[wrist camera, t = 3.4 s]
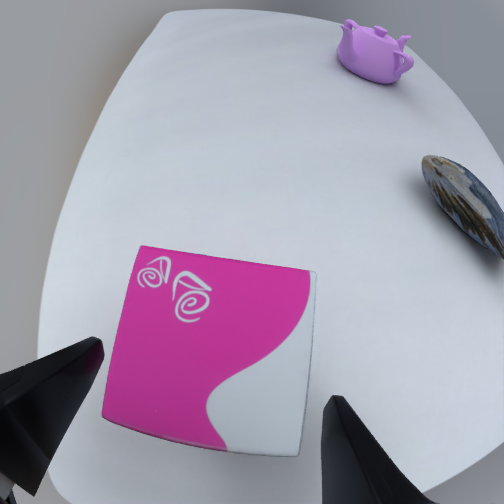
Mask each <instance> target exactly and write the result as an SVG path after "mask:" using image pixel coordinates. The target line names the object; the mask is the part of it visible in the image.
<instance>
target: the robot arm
mask: <svg viewBox="0 0 504 504" xmlns="http://www.w3.org/2000/svg"><path fill="white" fill-rule="evenodd" d="M103 360H104V349H103V343H102V340H101V339H99V338H96V337H93V336H92V337H89V338H87V339H85V340H82V341H80V342H78V343H75V344H73V345H71V346H68V347H66V348H64V349H61V350H59V351H57V352H54V353H52V354H50V355H47V356H45V357H43V358H40V359H38V360H36V361H33V362H32V363H28V364H26V365H25V366H21V367H19V368H16V369H14V370H11V371H9V372H6V373H3V374H0V504H17V503H16V500H15V497H14V494H13V491H12V488H13V486H14V484H15V483H16V484H17V485H18V486H20V487H21V488H22V489H24V490H25V491H26V492H28V493H29V494H31V495H32V496H35V494H36V492H37V490H38V488H39V485H40V483H41V481H42V479H43V477H44V475H45V473H46V470H47V468H48V466H49V464H50V462H51V460H52V458H53V456H54V454H55V452H56V450H57V448H58V446H59V444H60V442H61V440H62V439H63V437H64V435H65V433H66V431H67V429H68V427H69V425H70V424H71V422H72V420H73V418H74V416H75V415H76V413H77V411H78V409H79V408H80V406H81V404H82V402H83V401H84V399H85V397H86V395H87V394H88V392H89V390H90V388H91V386H92V384H93V382H94V380H95V377H96V375H97V373H98V371H99V369H100V366H101V364H102V362H103ZM321 465H322V504H439V503H435V502H433V501H431V500H429V499H428V498H427V497H425V496H424V495H423V494H422V493H421V492H420V491H419V490H418V489H417V488H416V487H415V486H414V485H413V484H412V483H411V482H410V481H409V480H408V479H407V478H406V477H405V475H404V474H403V473H402V472H401V471H400V470H399V469H398V467H397V466H396V465H395V464H394V462H393V461H392V460H391V459H390V458H389V456H388V455H387V453H386V452H385V451H384V450H383V448H382V447H381V446H380V444H379V443H378V442H377V440H376V439H375V438H374V436H373V435H372V434H371V433H370V431H369V430H368V429H367V427H366V426H365V425H364V423H363V422H362V421H361V419H360V418H359V417H358V415H357V414H356V413H355V411H354V410H353V409H352V407H351V406H350V405H349V403H348V402H347V401H346V399H345V398H344V397H343V396H339V395H333V396H331V398H330V399H329V401H328V403H327V404H326V406H325V407H324V410H323V421H322V436H321Z"/></svg>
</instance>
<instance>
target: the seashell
mask: <svg viewBox="0 0 504 504" xmlns="http://www.w3.org/2000/svg"><path fill="white" fill-rule="evenodd" d="M422 173H423V176H424V179H425V181H426V183H427V185H428V187H429V189H430V191H431V192H432V194H433V196H434V197H435V199H436V200H437V202H438V203H439V205H440V206H441V207H442V208H443V209H444V211H445V212H446V213H447V214H448V215H449V216H450V217H451V218H452V219H453V220H454V221H455V222H456V223H457V224H458V226H459V227H460V228H461V229H462V230H463V231H464V232H466V233H467V234H469V235H470V236H471V237H472V238H474V239H475V240H476V241H477V242H478V243H480V244H481V245H482V246H484V247H485V248H487V249H490V250H491V251H492V252H494V253H495V254H496V255H498V256H499V257H501V258H503V259H504V212H503V211H502V209H501V208H500V206H499V204H498V203H497V201H496V200H495V198H494V197H493V195H492V194H491V192H490V191H489V190H488V189H487V188H486V187H485V185H484V184H483V183H482V182H481V181H480V180H479V179H478V178H477V177H476V176H475V175H473V174H472V173H471V172H470V171H469V170H468V169H466V168H465V167H463V166H461V165H460V164H458V163H456V162H453V161H451V160H449V159H446V158H444V157H438V156H431V155H427V156H424V157H423V159H422Z"/></svg>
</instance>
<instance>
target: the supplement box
mask: <svg viewBox="0 0 504 504" xmlns="http://www.w3.org/2000/svg"><path fill="white" fill-rule="evenodd" d="M316 281H317V273H316V272H314V271H309V270H301V269H296V268H289V267H282V266H274V265H267V264H260V263H254V262H247V261H240V260H233V259H226V258H220V257H213V256H207V255H201V254H194V253H187V252H180V251H174V250H167V249H161V248H155V247H149V246H140V248H139V251H138V254H137V257H136V260H135V263H134V266H133V270H132V273H131V277H130V280H129V284H128V288H127V292H126V297H125V301H124V305H123V309H122V314H121V318H120V322H119V326H118V330H117V334H116V338H115V343H114V347H113V352H112V357H111V362H110V367H109V372H108V377H107V383H106V389H105V395H104V401H103V408H102V417H103V418H104V419H106V420H108V421H110V422H112V423H115V424H117V425H120V426H123V427H125V428H128V429H131V430H134V431H137V432H140V433H143V434H146V435H150V436H154V437H157V438H161V439H164V440H167V441H171V442H176V443H180V444H185V445H189V446H194V447H200V448H205V449H211V450H216V451H224V452H231V453H238V454H248V455H263V456H274V457H297V456H298V455H299V452H300V448H301V441H302V436H303V428H304V421H305V413H306V405H307V397H308V388H309V378H310V367H311V357H312V344H313V329H314V313H315V299H316Z"/></svg>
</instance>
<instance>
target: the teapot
mask: <svg viewBox="0 0 504 504" xmlns="http://www.w3.org/2000/svg"><path fill="white" fill-rule="evenodd" d="M352 26H353V27H354V28H355V30H353V31H352ZM340 27H341V28H342V29H343V37H342V40H341V42H340V44H339V46H338V48H337V55H338V57H339V59H340V61H341V63H342V64H343V65H344V66H345V67H346V68H347V69H348V70H350V71H351V72H353V73H355V74H357V75H358V76H360V77H363V78H365V79H367V80H370V81H373V82H377V83H382V84H388V83H392V82H395V81H397V80H399V79H400V77H401V74H403V73H405V72H406V71H408V70H409V69H411V68H412V66H413V65H414V60H413V58H412V57H411V56H409V55H407V54H405V53H403V49H404V45H405V43H406V41H407V40H408V39H409V38H411V36H410V35H403V36H401V37H400V38H399V39H398V40H397V41H396V40H394V39H393V38H392V37H390V36H388V35H386V34H387V33H388V31H387V30H386V29H384V28H382V27H379V26H374V29H372V28H369V27H360V26H359V25H358V24H357V23H355V22H354V21H352V20H350V19H347V20H346V21H345V23H344V26H340ZM402 57H403V58H404V63H403V60H402Z"/></svg>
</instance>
